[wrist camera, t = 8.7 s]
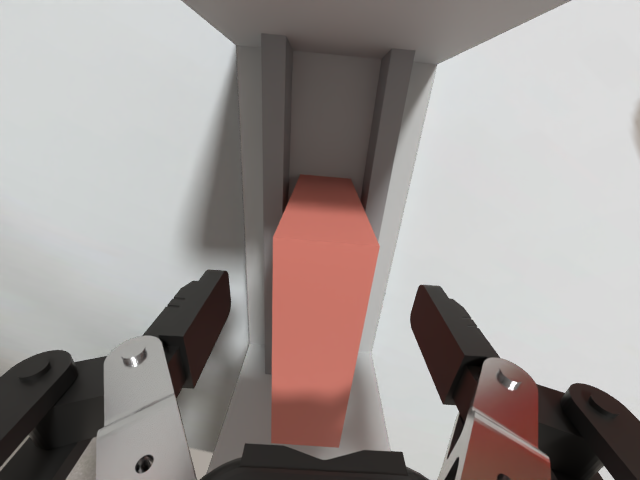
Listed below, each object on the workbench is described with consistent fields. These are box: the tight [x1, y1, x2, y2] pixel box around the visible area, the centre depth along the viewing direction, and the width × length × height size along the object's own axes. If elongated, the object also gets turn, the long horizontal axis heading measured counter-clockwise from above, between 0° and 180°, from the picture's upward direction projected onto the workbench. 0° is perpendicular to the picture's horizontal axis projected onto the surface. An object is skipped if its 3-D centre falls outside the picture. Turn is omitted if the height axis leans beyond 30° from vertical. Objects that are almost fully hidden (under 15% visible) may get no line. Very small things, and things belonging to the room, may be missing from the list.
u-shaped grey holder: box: [182, 0, 571, 474], centre depth 13 cm, size 24×10×14 cm, turn 175°
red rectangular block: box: [271, 174, 380, 448], centre depth 13 cm, size 10×3×9 cm, turn 175°
